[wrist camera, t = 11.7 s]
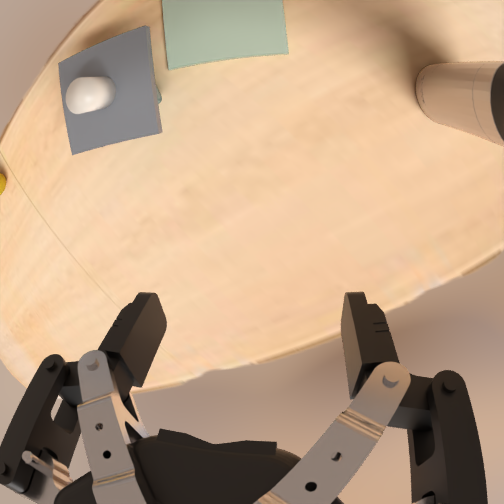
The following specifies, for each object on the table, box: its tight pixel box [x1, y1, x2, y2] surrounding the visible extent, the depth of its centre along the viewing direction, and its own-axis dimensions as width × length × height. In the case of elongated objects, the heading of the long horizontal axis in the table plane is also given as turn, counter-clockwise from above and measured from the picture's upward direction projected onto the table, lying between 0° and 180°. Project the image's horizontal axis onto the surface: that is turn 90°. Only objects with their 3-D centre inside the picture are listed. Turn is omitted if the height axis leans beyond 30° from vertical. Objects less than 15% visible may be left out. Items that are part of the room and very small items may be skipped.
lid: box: [58, 26, 162, 155], centre depth 24 cm, size 13×13×5 cm
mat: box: [162, 0, 289, 70], centre depth 27 cm, size 16×16×1 cm
